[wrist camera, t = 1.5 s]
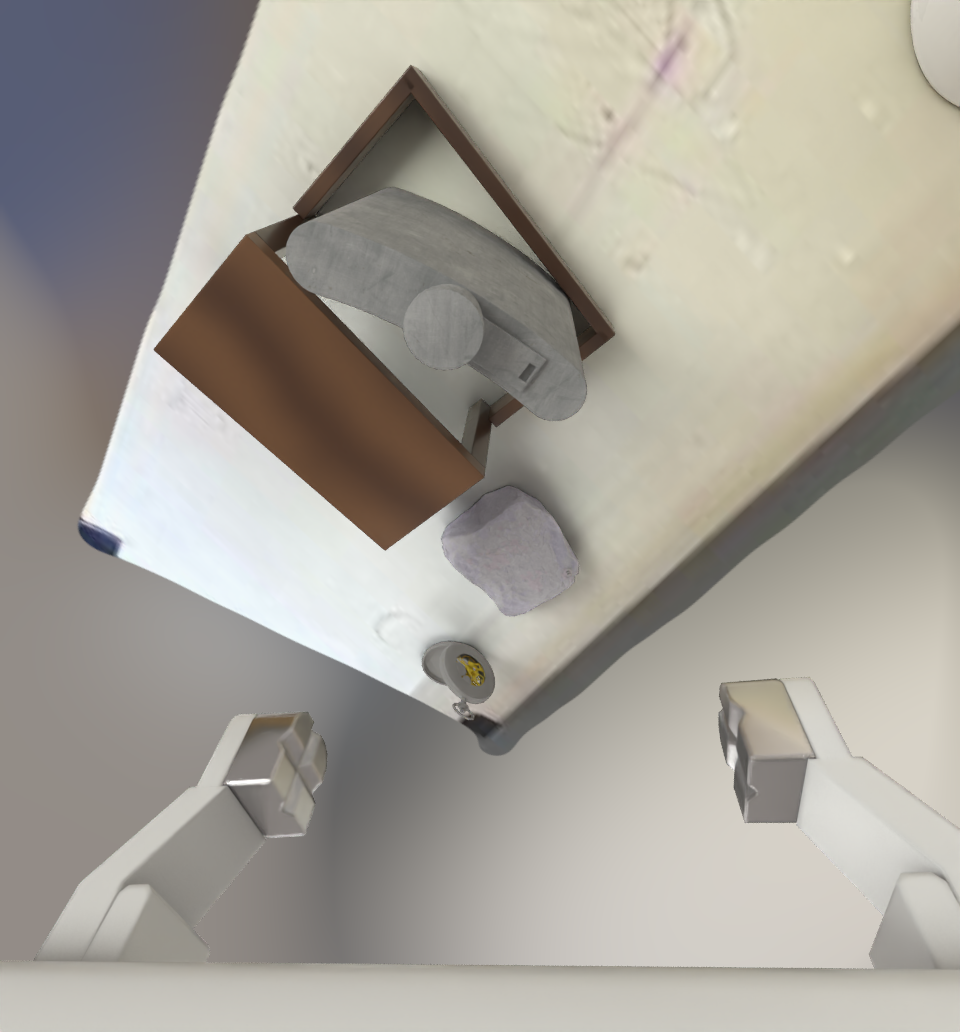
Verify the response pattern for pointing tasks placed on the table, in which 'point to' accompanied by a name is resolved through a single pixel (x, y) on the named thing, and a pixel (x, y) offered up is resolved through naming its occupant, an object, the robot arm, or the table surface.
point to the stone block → (511, 550)
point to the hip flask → (448, 294)
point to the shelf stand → (347, 357)
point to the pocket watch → (460, 672)
